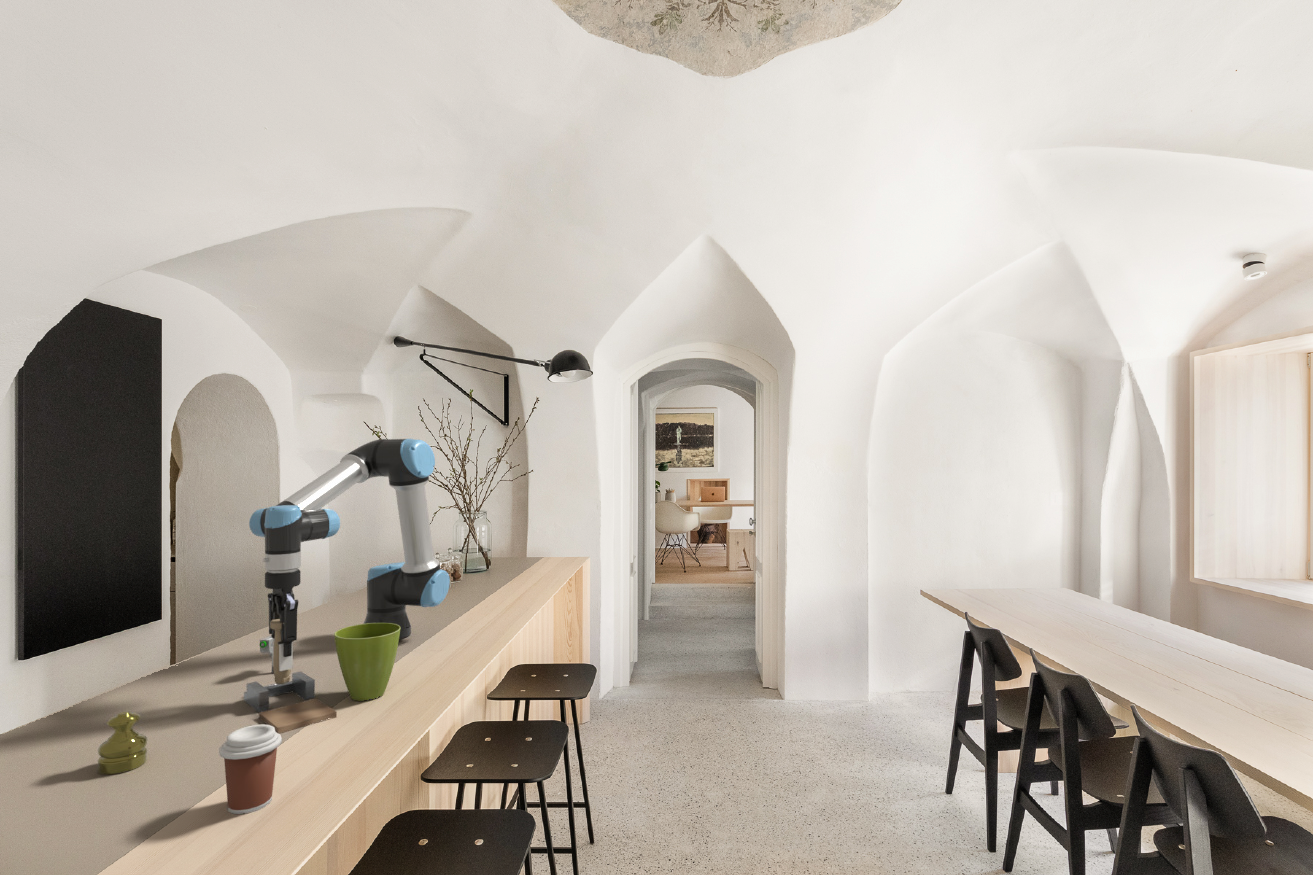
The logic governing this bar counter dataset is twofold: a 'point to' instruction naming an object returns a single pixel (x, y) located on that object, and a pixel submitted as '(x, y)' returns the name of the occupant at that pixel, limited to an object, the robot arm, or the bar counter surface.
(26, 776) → the bar counter surface
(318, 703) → the walnut board
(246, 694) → the vise
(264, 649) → the mechanical component
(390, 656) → the flower pot
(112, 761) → the olive glossy bulbous piece
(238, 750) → the coffee cup
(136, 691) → the bar counter surface
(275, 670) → the handle
